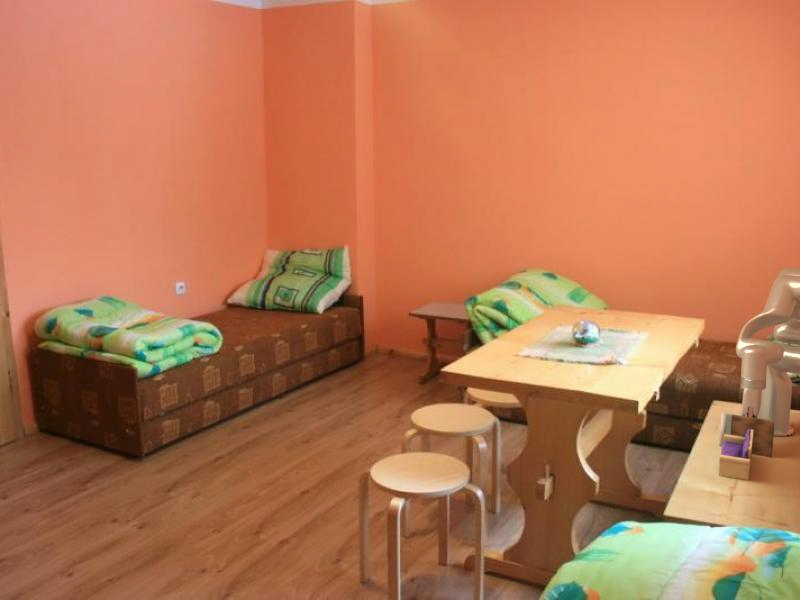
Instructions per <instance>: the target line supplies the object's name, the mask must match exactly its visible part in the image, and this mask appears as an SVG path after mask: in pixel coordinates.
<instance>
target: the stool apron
mask: <svg viewBox="0 0 800 600" xmlns="http://www.w3.org/2000/svg"><path fill="white" fill-rule="evenodd" d="M738 415H739V414H734V415H732V420H731V435H735V436H741V437H745V435H746V432H747V430H749V429H752V430H754V431H753V441H752V452H751V455H754V456H761V457H766V458H773V452H774V450H773V449H774V437H775V436H774V425H775V420H767V419H760V418H753V417H747V415H746V416H741V415H740V416H738Z"/></svg>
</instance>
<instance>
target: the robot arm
mask: <svg viewBox="0 0 800 600" xmlns="http://www.w3.org/2000/svg"><path fill="white" fill-rule="evenodd" d="M771 327H774V328H773V337H774V339H775V340H776V341H771V340H765V339H759V338H753V336H755V334H756V333H758V332H760V331H762V330H763V329H767V328H771ZM736 341H737V342H736V344H735V345H736V346H735V354H736V356H737V357H738V358H740V359H741V365H740V366H741V369H740V371H741V372H740V387H741V388H742V389H743V391H742V401H741V403H742V404H741V415H740V416H746V417H753V418H760V419H767V420H775V425H774V437H788V436H787V435H789V436H791V434H792V435H793V434H794V433H795V432H794V428H793V427H792V426H790V420H791V419H790V417H791V416H790V415H791V404H792V392H793V383H792V382H793V381H792V380H791V378H790V376H789V374H788V373H790V374H795V375H796V374H797V375H800V267H786V268H785V267H784V268H783V269H781V270H780V271H779V272H778V275H777V277H776V278H775V279H774V281H773V284H772V286H771V289H770V291H769V295H768V297H767V300H766V302H765V305H764V308H763V310H762V311H761V312H760V313H758V314H756V315H754V316H753V317H752V318H751V319H749V320H748V321H747V322H746V323H745V324H744V325H743V327H742V328H741V330H740V333H739V336H738V338H737V340H736ZM777 341H778V342H777ZM779 342H780V343H779ZM793 432H794V433H793Z"/></svg>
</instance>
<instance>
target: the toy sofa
mask: <svg viewBox="0 0 800 600" xmlns="http://www.w3.org/2000/svg"><path fill="white" fill-rule="evenodd" d="M753 431H754V430H752V429H749V430H747V432H746V435H745V437H741V436H735V435H728V434H724V442H723V445H722V446H721V453H720V454H719V461H718V462H719V463H718V464H719V466H718V468H719V469H718V475H719V477H720V476H721V477H727V478H731V479H739V480H746V481H748V480H750V468H751V458H752V454H751V452H752V441H753Z"/></svg>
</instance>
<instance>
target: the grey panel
mask: <svg viewBox="0 0 800 600" xmlns="http://www.w3.org/2000/svg"><path fill="white" fill-rule="evenodd" d="M732 415H735V414H733V413H727V412H721V413H720V429H719V446H721V447H722V445H723V442H724V434H728V435H731V420H732ZM737 415H738V416H741V415H739V414H737Z"/></svg>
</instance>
